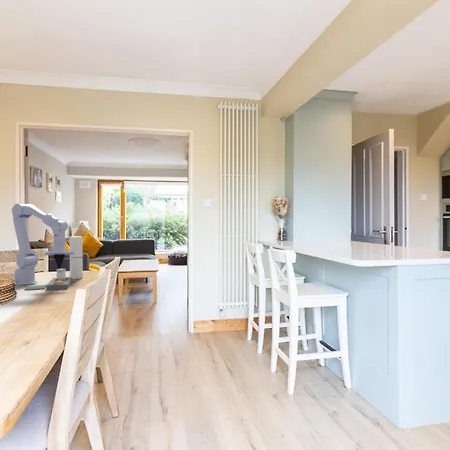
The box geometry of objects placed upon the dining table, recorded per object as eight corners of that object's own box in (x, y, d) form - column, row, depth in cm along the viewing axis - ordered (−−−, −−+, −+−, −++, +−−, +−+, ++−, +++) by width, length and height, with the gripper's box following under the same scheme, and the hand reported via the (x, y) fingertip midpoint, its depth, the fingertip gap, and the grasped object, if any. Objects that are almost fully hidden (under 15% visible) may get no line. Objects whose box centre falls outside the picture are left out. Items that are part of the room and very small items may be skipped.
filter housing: (46, 290, 183) (46, 285, 183) (53, 282, 204) (53, 277, 204) (67, 289, 186) (67, 284, 186) (72, 281, 207) (72, 277, 207)
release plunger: (54, 287, 186) (53, 282, 186) (55, 286, 189) (55, 280, 189) (61, 287, 187) (61, 281, 187) (62, 286, 190) (62, 280, 190)
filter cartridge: (56, 284, 196) (55, 270, 196) (57, 283, 201) (56, 269, 201) (65, 284, 198) (65, 269, 198) (66, 282, 203) (66, 268, 202)
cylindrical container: (78, 279, 214) (77, 237, 214) (67, 278, 216) (67, 236, 215) (85, 277, 221) (84, 236, 221) (74, 276, 223) (74, 236, 222)
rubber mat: (24, 290, 182) (24, 289, 182) (28, 286, 191) (28, 285, 191) (44, 289, 185) (44, 288, 185) (47, 286, 193) (47, 284, 193)
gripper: (43, 244, 187) (43, 270, 188) (73, 243, 191) (73, 269, 192) (45, 242, 194) (45, 268, 194) (74, 242, 198) (74, 267, 199)
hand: (59, 268), depth 194 cm, fingers closed
